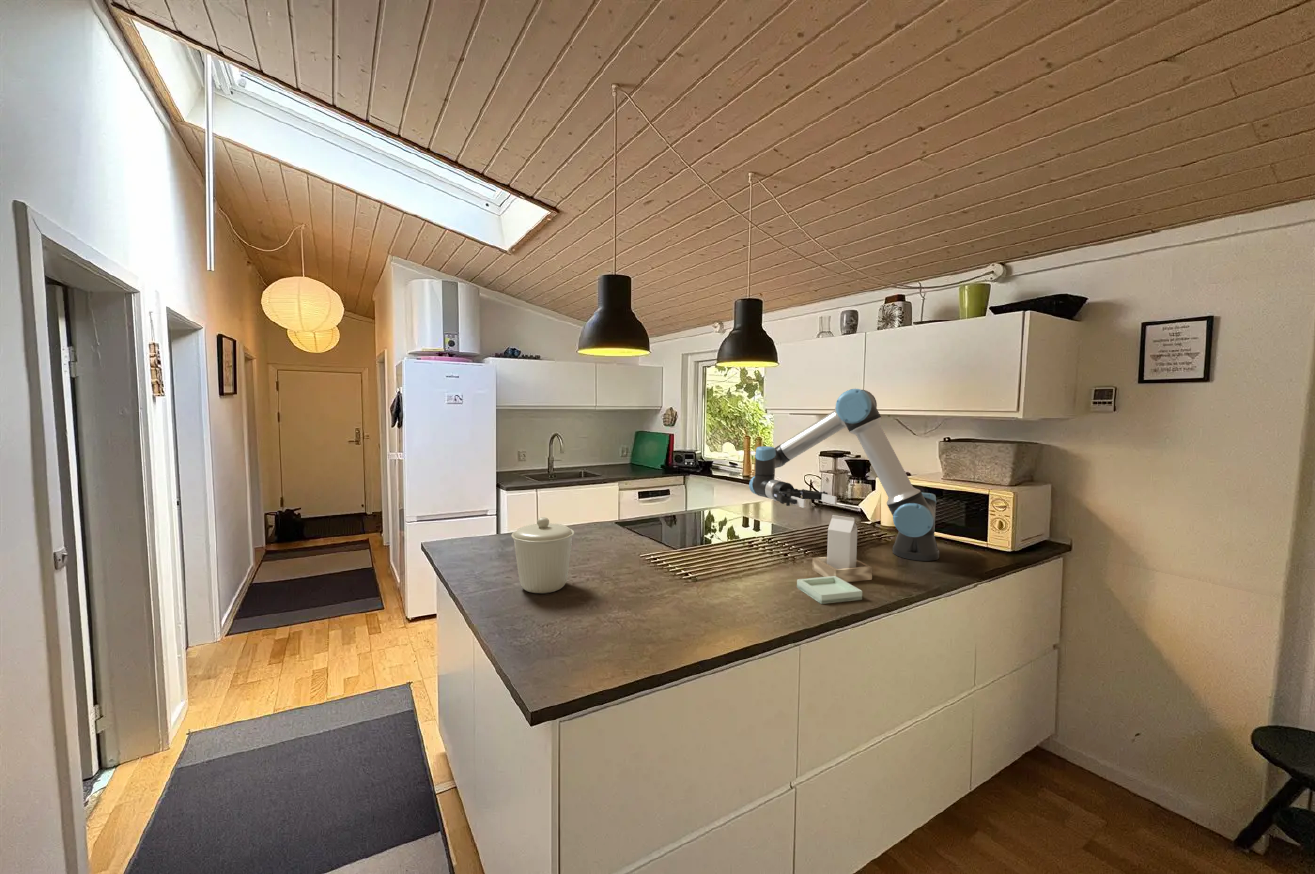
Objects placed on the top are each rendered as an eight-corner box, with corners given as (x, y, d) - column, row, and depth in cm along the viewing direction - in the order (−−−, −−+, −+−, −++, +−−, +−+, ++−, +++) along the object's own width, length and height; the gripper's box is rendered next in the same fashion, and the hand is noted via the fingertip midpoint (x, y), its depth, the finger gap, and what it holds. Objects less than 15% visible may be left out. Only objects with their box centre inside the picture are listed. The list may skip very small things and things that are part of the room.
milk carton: (849, 579, 165) (850, 519, 163) (826, 575, 169) (828, 516, 168) (855, 573, 170) (857, 515, 169) (834, 569, 175) (835, 512, 173)
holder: (846, 566, 178) (846, 555, 177) (871, 579, 165) (872, 566, 165) (812, 569, 174) (812, 557, 174) (835, 583, 162) (835, 570, 162)
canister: (560, 601, 146) (560, 526, 145) (500, 596, 150) (499, 523, 148) (583, 579, 164) (582, 512, 162) (528, 575, 168) (527, 509, 166)
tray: (834, 583, 161) (835, 575, 161) (862, 599, 149) (862, 590, 148) (796, 587, 158) (797, 579, 158) (821, 604, 145) (821, 595, 145)
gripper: (806, 498, 202) (847, 510, 183) (752, 503, 191) (790, 516, 172) (806, 479, 201) (848, 488, 182) (752, 483, 191) (791, 493, 172)
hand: (820, 502), depth 177 cm, fingers open, 13 cm apart
